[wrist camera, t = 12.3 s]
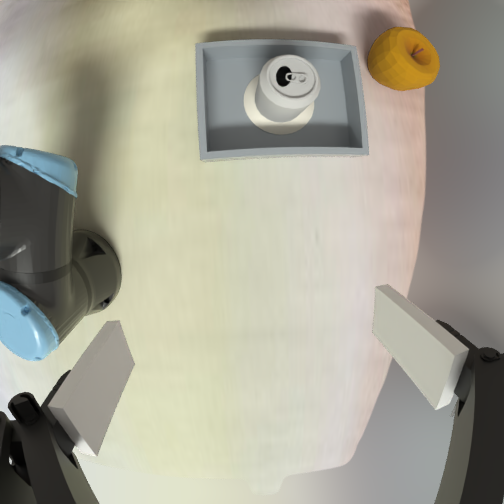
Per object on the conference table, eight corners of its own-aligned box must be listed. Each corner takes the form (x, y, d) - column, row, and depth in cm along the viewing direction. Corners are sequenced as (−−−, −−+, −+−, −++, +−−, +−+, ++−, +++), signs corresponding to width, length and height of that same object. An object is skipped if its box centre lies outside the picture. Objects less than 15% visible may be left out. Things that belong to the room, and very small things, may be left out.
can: (258, 75, 38) (266, 43, 27) (305, 85, 39) (328, 58, 27) (250, 118, 40) (255, 97, 28) (298, 128, 41) (319, 112, 29)
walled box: (204, 162, 42) (200, 159, 37) (200, 58, 38) (195, 43, 32) (353, 157, 43) (369, 155, 38) (343, 59, 39) (355, 46, 33)
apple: (386, 110, 41) (428, 95, 29) (344, 64, 39) (376, 35, 27) (416, 80, 40) (458, 63, 27) (378, 38, 37) (412, 10, 25)
